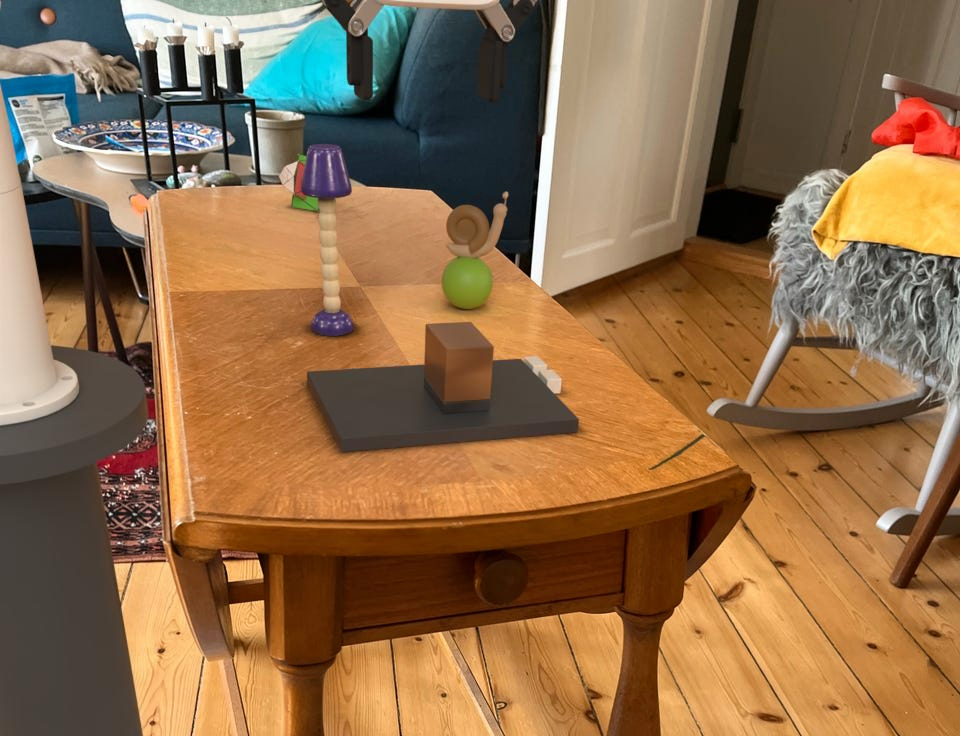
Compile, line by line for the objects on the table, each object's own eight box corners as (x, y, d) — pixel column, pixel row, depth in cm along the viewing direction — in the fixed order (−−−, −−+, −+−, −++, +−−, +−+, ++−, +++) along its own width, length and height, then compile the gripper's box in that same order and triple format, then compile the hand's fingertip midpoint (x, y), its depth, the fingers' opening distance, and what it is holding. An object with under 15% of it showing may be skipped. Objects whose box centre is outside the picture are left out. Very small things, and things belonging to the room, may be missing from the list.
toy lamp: (298, 331, 101) (291, 147, 92) (317, 317, 105) (311, 138, 96) (344, 339, 101) (341, 153, 91) (361, 324, 104) (360, 144, 95)
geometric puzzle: (305, 180, 145) (285, 135, 138) (349, 187, 143) (331, 142, 136) (286, 221, 143) (265, 178, 136) (330, 228, 141) (310, 185, 134)
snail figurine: (495, 319, 108) (504, 198, 101) (436, 312, 109) (440, 191, 102) (503, 304, 112) (512, 186, 105) (446, 297, 113) (450, 180, 106)
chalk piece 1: (533, 365, 94) (547, 364, 95) (523, 356, 96) (537, 355, 96) (531, 380, 95) (545, 379, 95) (522, 371, 97) (536, 370, 97)
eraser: (443, 414, 84) (446, 348, 81) (423, 386, 89) (425, 323, 86) (489, 410, 85) (494, 346, 82) (467, 383, 90) (470, 321, 87)
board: (341, 452, 80) (340, 438, 79) (307, 384, 91) (306, 371, 90) (577, 432, 86) (579, 419, 85) (519, 370, 97) (520, 358, 96)
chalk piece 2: (547, 379, 91) (562, 378, 92) (538, 369, 93) (552, 369, 94) (546, 394, 92) (560, 393, 93) (537, 384, 94) (551, 383, 94)
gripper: (537, -181, 72) (517, 92, 82) (291, -207, 67) (301, 88, 77) (579, -186, 67) (552, 109, 77) (313, -214, 62) (321, 105, 71)
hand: (426, 98), depth 77 cm, fingers open, 9 cm apart
